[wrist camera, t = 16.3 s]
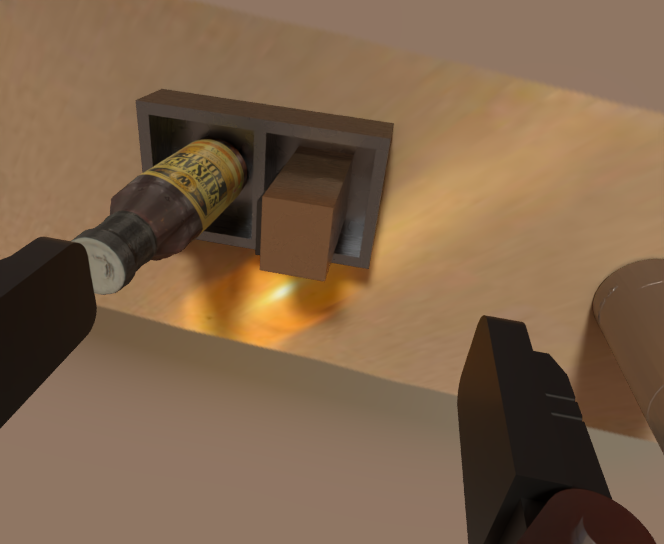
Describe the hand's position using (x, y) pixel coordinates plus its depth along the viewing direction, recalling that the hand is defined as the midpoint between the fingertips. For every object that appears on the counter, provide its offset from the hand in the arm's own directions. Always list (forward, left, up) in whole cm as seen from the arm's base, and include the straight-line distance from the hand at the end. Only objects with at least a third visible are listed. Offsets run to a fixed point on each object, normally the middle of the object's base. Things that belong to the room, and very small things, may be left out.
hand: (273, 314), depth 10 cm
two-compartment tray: (+9, +11, -36) cm, 39 cm away
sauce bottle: (+14, +11, -36) cm, 40 cm away
